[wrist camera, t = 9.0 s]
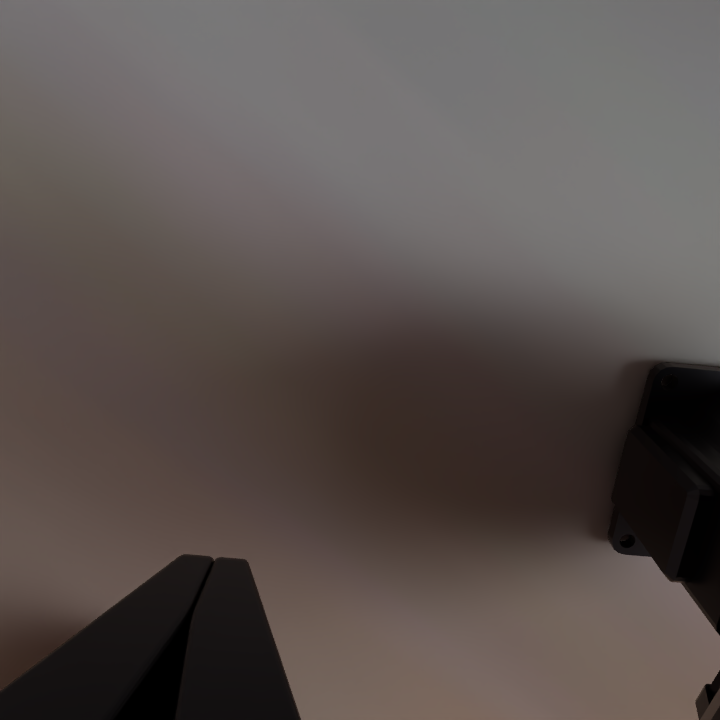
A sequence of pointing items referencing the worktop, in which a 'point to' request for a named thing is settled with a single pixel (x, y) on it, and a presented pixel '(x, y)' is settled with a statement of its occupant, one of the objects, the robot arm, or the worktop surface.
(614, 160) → the worktop surface
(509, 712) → the worktop surface
